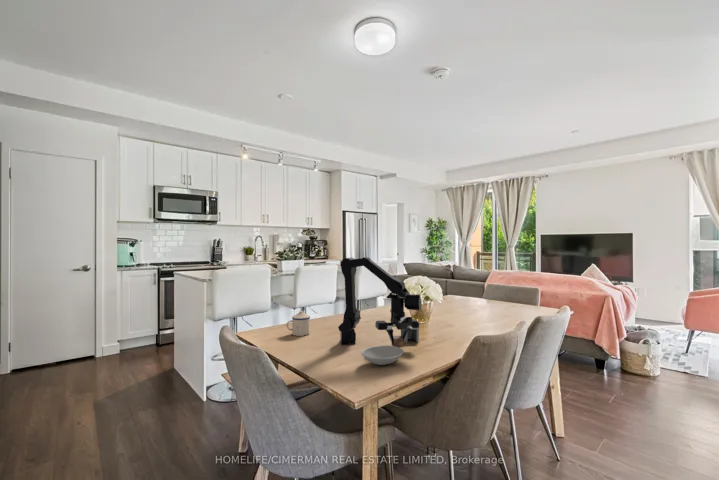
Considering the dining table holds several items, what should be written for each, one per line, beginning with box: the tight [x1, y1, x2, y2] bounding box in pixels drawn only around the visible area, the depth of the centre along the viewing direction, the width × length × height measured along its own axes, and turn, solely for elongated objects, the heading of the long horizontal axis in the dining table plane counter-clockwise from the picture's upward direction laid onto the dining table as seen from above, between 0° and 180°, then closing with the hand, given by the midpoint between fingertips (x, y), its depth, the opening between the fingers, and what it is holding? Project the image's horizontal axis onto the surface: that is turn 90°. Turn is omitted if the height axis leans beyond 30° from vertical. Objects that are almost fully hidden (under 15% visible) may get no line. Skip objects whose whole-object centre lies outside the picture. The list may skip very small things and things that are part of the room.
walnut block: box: [391, 335, 404, 348], centre depth 153 cm, size 4×4×4 cm
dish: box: [360, 345, 405, 366], centre depth 134 cm, size 18×14×5 cm
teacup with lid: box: [285, 310, 311, 337], centre depth 176 cm, size 12×9×12 cm
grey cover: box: [403, 326, 420, 344], centre depth 166 cm, size 7×7×6 cm
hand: (397, 343), depth 153 cm, fingers closed on walnut block, 4 cm apart
